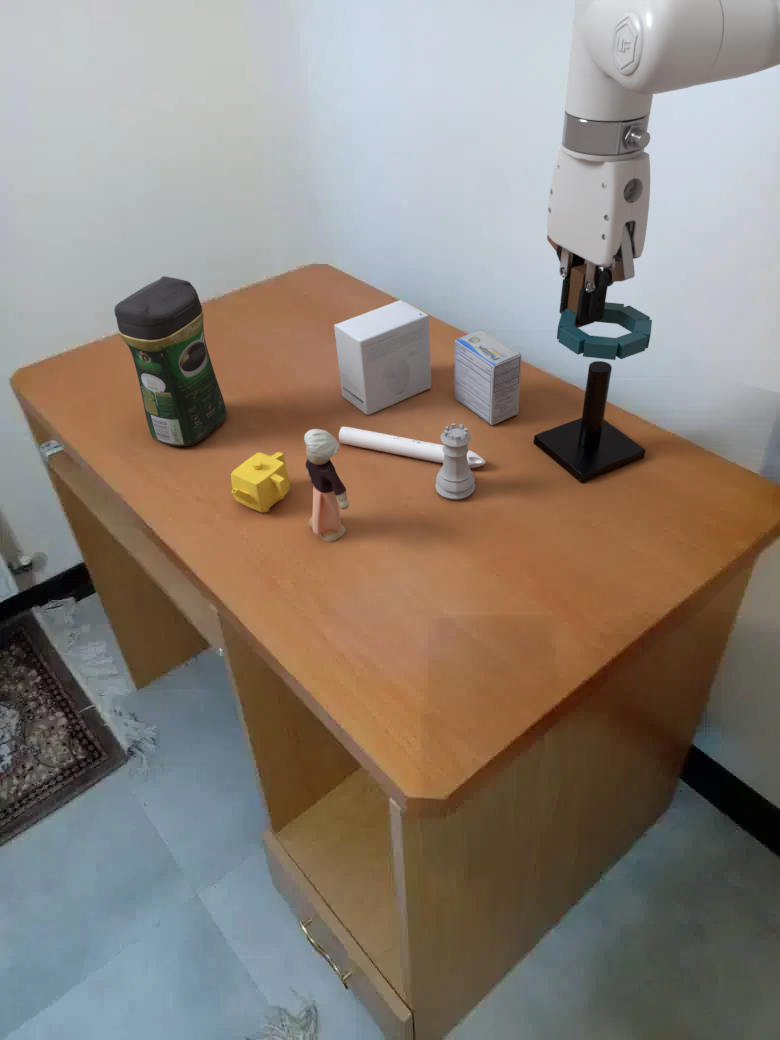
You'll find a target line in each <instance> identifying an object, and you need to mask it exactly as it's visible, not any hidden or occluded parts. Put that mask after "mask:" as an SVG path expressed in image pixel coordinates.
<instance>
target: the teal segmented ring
mask: <svg viewBox="0 0 780 1040" xmlns="http://www.w3.org/2000/svg"><path fill="white" fill-rule="evenodd" d="M586 269H587V264H583V265H580V266H577V267H573V268H571V277H570V286H569V295H568V303H567V309H565V312H564V311H562V314H560V318H559V321H558V325H557V332H556V340H558V341H557V342H558V343H559V344H561V345H562V346H563V347H565V348H567V349H568V350H569V351H571V352H573V353H574V354H576V355H581V354H582V357H583V358H593V359H603V360H611V361H615V360H616V358H618V359H620V360H623V359H626V358H629V357H632V356H634V355H637V354H640V353H642V352H645V351H646V350H647V349H648V348H649V346H650V340H651V335H652V324H653V320H652V319H651V317H650V316H649V315H647V314H645V313H643V312H642V311H640V310H638V309H637V308H635V307H634V306H631V305H626V306H625V303H617V302H607V301H605V307H604V314H603V318H602V319H601V320H599V321H595V322H592V323H589V324H586V325H583V326H579V325H578V324H576V317H577V308H578V299H579V292H580V289H583V288H585V277H586ZM601 271H603V268H601V267H600V268H599V270H598V274H599V273H600V272H601ZM594 323H602V324H603V323H604V324H605V323H606V324H613V325H614V324H615V325H619V326H621V328H623V329H625V330H627V331H629V333H627V334H624V335H623V334H622V335H621V336H620V335H619V336H617V337H611V336H600V335H590V334H588V333H587V332H585V331H584V330H582V329H581V328H582V327H585V326H588V325H591V324H594Z"/></svg>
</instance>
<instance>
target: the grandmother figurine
mask: <svg viewBox="0 0 780 1040" xmlns="http://www.w3.org/2000/svg"><path fill="white" fill-rule="evenodd" d="M303 441H304V445H306V447H305V456H306V462H305V475H306V476H307V477H309V478H310V482H311V483H312V487H313V489H312V515H311V517H310V518H309V520H308V526H309V527H310V528H311V529H312V532H313V533H314V534H315V535H317V536H320V538H321V539H322V540H323V541H325V542H327V543H332V542H335V541H337V540H338V539H340V538H341V537H342V536H344V535H345V534H346V532H347V529H346V527H345V526H344V525H343V524H341V523H342V522H341V515H340V511H339V508H340V509H341V510H347V509H348V508H349V506H350V502H349V500H348V495H347V488H346V486H345V485H344V483H343V482H342V480H341V478H340V477H339V475H338V473H337V470H336V468H335V466H334V464H333V462H332V460H331V458H332V457H333V456H335V455H337V454H338V452H339V449H340V444H339V443H340V442H339V441H338V440H337V439H336V438H335V436H333V435H332V434H331V433H329V432H328V431H327V430H325V429H320V428H312V429H309V430H308V431H307V432H305V433H304V436H303Z"/></svg>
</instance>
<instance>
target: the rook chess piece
mask: <svg viewBox="0 0 780 1040" xmlns="http://www.w3.org/2000/svg"><path fill="white" fill-rule="evenodd" d="M456 425H457V424H456V422H453V423H450V426H449V425H446V426H445V427H444V430H443V432H442V433H441V434H440V437H439V438H440V441H441V442H442V444H443V445H444V446H443V449H442V450H443V452H444V462H443V463H442V466H441V467H440V468H439V471H438V472H437V474H436V477H435V485H434V487H435V490H436V492H437V493H438V494H439V495H440V496H441V497H442V498H444V499H447V500H450V501H459V500H465V499H466V498H468V497H469V496H470V495H472V494H473V492H474V491H475V489H476V484H475V481H476V478H475V476H474V473H473V471H472V470H471V468H469V467H468V461H467V453H468V451H469V450H470V448H469V445H468V444H469V443H470V442H471V440H472V435H471V433H470V432H469V429H468V427H467V426H466V427H465V425H464V424H462V423H459V424H458V426H456Z"/></svg>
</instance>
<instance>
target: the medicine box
mask: <svg viewBox="0 0 780 1040" xmlns="http://www.w3.org/2000/svg"><path fill="white" fill-rule="evenodd" d="M521 372H522V354H521V353H520V352H518V351H517V350H515V349H513V347H510V346H509V345H507V344H506V343H504V342H503V341H501V340H500V339H498V338H496V337H495V336H493V335H491V334H490V333H488V332H486V331H485V330H483V329H481V330H478V331H474V332H472V333H469V334H466V335H464V336H461V337H459V338H457V339H455V340H454V382H453V383H454V387H453V389H454V399H455V400H456V401H458V402H459V403H460V404H462V405H463V406H465V407H466V408H468V409H469V410H470V411H472V412H473V413H474V414H476V416H479V417H480V418H481V419H482V420H483V421H485V422H487V423H488V424H489V425H490V426H494V425H496V424H499V423H500V422H501V423H502V422H504V421H506V420H508V419H509V418H512V417H515V416H517V415H519V408H520V407H519V406H520V392H521V391H520V390H521V374H522V373H521Z"/></svg>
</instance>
